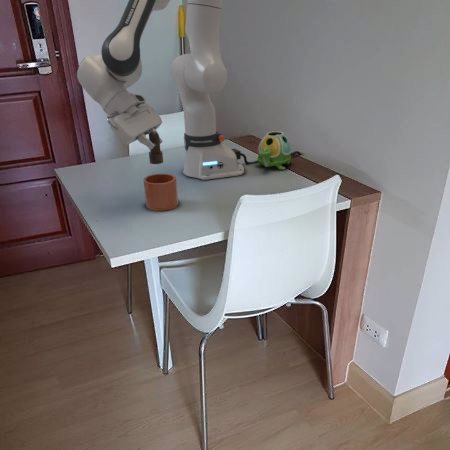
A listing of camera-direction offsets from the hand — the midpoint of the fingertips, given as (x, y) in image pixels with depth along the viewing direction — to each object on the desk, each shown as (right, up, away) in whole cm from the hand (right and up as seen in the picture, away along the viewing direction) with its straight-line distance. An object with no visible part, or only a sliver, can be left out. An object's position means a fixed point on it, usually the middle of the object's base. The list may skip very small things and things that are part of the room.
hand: (156, 145), depth 143 cm
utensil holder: (0, -15, +11) cm, 19 cm away
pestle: (-1, -4, +3) cm, 5 cm away
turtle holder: (+38, +5, +42) cm, 57 cm away
